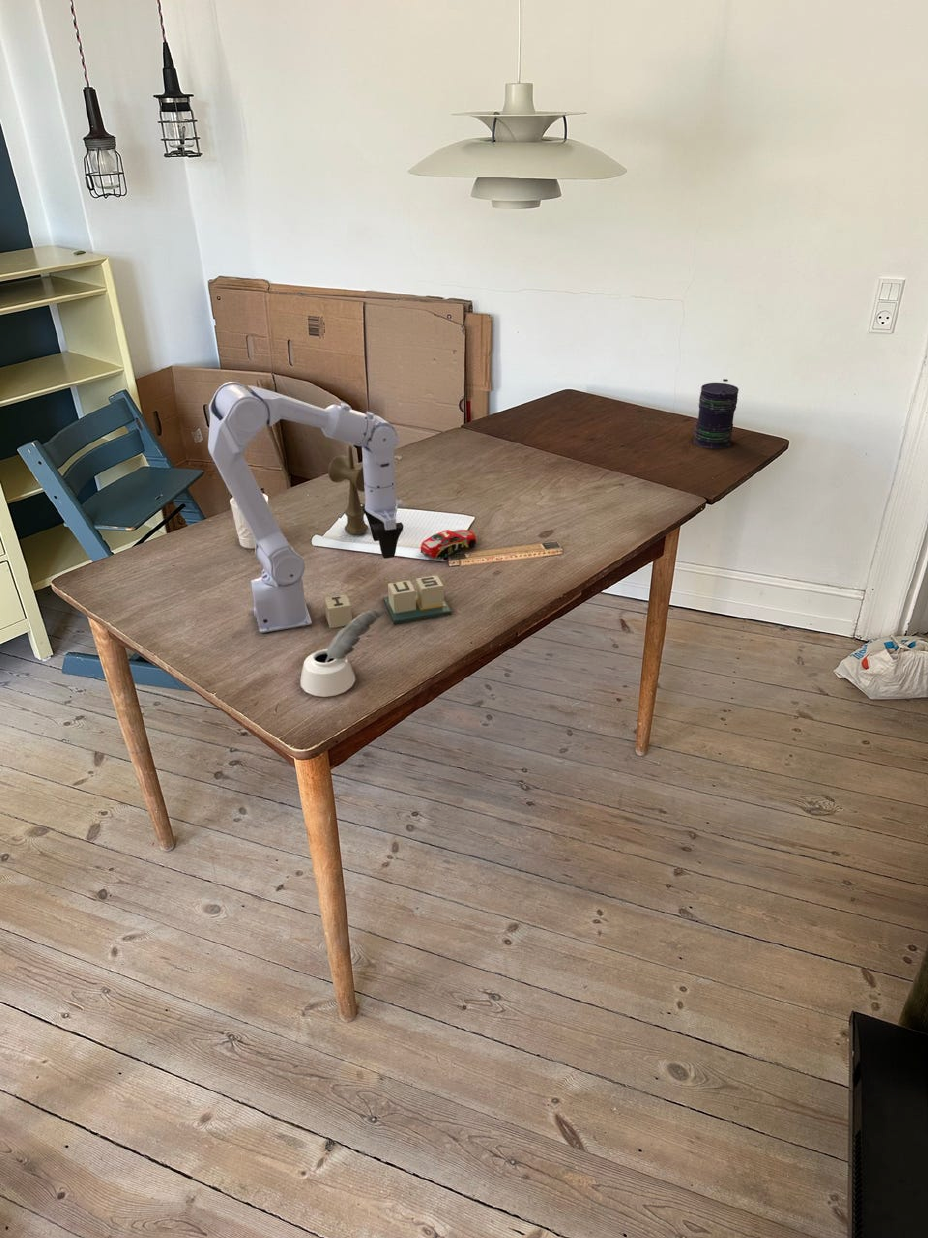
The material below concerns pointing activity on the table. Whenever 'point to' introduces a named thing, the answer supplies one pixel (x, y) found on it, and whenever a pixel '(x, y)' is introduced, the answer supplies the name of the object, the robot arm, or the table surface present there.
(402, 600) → the U block
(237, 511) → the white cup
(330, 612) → the block
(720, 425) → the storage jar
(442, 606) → the green board
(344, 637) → the inkwell
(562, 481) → the table surface
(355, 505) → the kendama
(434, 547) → the race car
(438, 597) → the block
